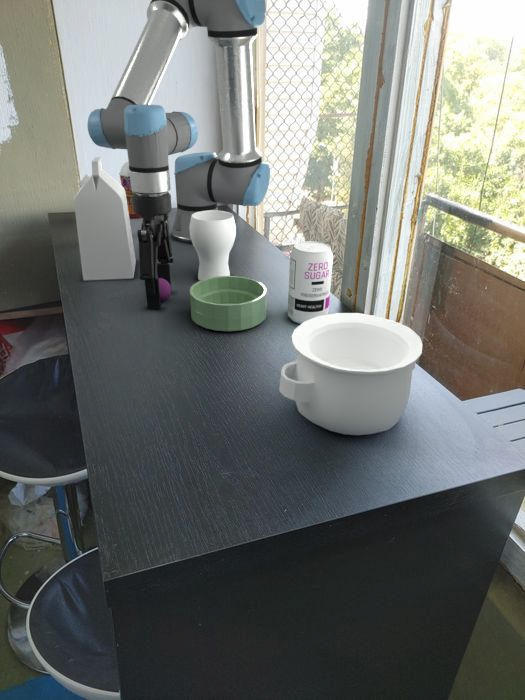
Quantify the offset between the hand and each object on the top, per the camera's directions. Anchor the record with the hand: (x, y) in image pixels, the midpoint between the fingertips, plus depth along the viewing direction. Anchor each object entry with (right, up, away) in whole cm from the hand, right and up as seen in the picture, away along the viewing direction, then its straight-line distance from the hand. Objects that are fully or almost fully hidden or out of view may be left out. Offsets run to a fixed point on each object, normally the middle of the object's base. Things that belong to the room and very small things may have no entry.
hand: (160, 299), depth 113 cm
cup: (+11, +6, +13) cm, 18 cm away
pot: (+35, -20, -34) cm, 53 cm away
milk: (-15, +8, +16) cm, 23 cm away
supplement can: (+31, -4, -6) cm, 32 cm away
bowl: (+15, -4, -6) cm, 17 cm away
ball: (0, 0, 0) cm, 0 cm away
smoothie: (-20, +34, +61) cm, 72 cm away
